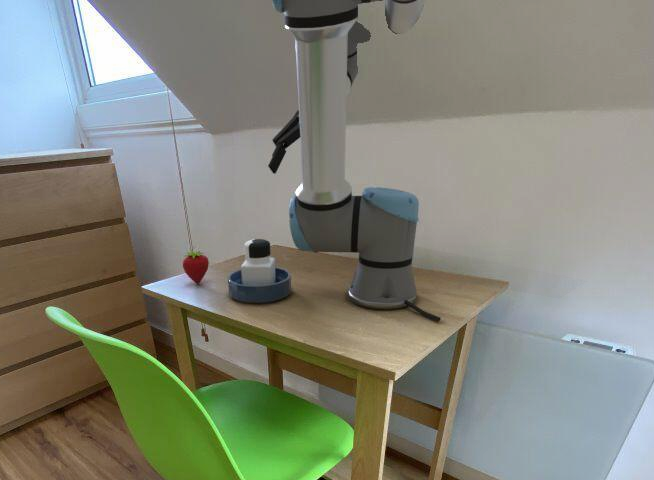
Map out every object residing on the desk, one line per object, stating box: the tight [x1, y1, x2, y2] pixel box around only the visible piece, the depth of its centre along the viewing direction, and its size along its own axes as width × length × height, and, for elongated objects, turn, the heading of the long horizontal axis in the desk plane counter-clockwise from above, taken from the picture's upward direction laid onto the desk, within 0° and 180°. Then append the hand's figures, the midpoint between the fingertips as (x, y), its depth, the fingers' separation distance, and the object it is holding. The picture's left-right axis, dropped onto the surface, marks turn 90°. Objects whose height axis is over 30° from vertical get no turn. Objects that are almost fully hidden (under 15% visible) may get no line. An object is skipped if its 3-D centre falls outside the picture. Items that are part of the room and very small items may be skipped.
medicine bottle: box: [240, 238, 276, 286], centre depth 104 cm, size 7×7×12 cm
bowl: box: [227, 266, 292, 304], centre depth 106 cm, size 15×15×4 cm
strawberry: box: [182, 247, 210, 285], centre depth 113 cm, size 6×8×10 cm
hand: (293, 171), depth 105 cm, fingers open, 13 cm apart
